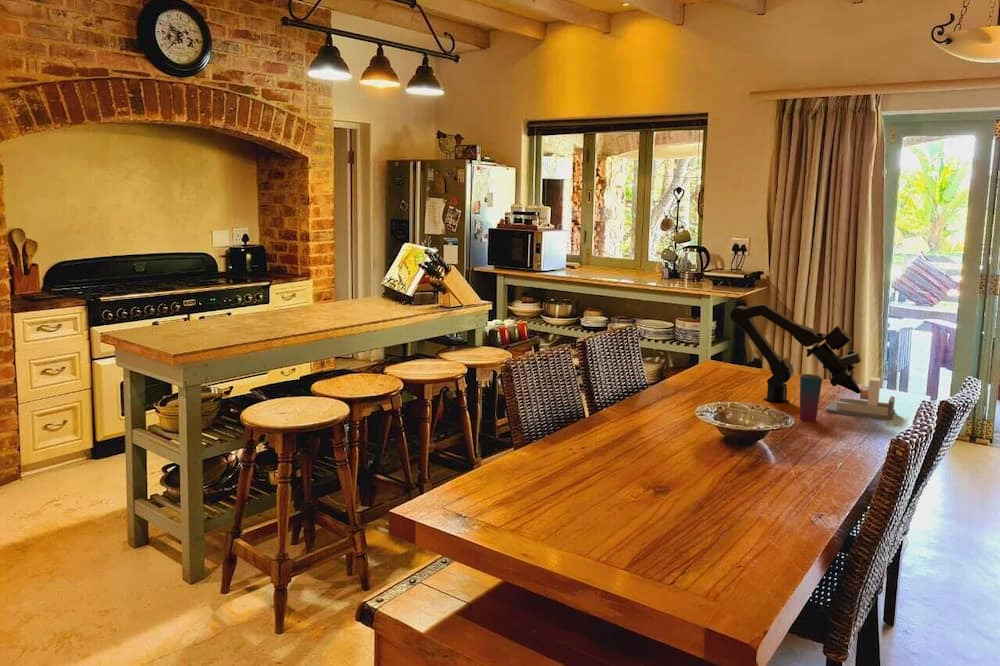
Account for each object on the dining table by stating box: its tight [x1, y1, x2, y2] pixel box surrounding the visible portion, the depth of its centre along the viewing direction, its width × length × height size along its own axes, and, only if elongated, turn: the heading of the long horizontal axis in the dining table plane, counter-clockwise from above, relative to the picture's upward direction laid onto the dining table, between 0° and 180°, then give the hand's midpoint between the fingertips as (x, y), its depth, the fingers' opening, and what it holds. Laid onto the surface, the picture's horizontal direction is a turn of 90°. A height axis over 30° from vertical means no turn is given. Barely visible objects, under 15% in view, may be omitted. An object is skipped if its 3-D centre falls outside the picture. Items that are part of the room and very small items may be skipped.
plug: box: [859, 376, 882, 407], centre depth 263 cm, size 6×5×11 cm
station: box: [825, 395, 896, 422], centre depth 264 cm, size 20×12×6 cm, turn 59°
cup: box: [799, 373, 823, 423], centre depth 254 cm, size 7×7×15 cm
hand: (860, 392), depth 264 cm, fingers closed, pressing on plug
